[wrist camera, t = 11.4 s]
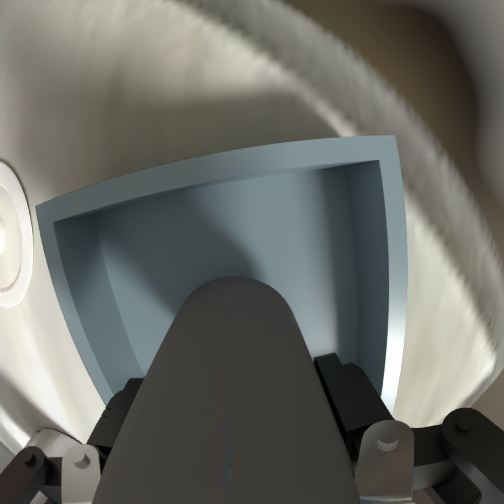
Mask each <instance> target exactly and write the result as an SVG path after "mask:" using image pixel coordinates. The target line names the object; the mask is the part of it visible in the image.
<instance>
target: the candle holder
mask: <svg viewBox="0 0 504 504" xmlns="http://www.w3.org/2000/svg"><path fill="white" fill-rule="evenodd" d="M0 185H1V186H2V187H4V188H5V189H6V190H7V191H8V193H9V194H10V196H11V198H12V199H13V201H14V204H15V206H16V209H17V213H18V217H19V221H20V226H21V233H22V262H21V267H20V271H19V274H18V276H17V278H16V280H15V281H14V283H13V284H12V285H11V286H9V287H7V288H0V306H1V307H5V308H10V307H12V306H14V305H16V304H18V303H20V302H21V300H22V298H23V297H24V295H25V293H26V290H27V288H28V285H29V282H30V278H31V272H32V265H33V236H32V226H31V220H30V214H29V210H28V206H27V202H26V198H25V195H24V193H23V190H22V187H21V185H20V183H19V181H18V179H17V177H16V176H15V174H14V173H13V172H12V170H11V169H10V168H9V167H8V166H7V165H5V164H4V163H2V162H0ZM4 244H5V231H4V225H3V221H2V218H1V216H0V254H1V253H2V251H3V248H4Z"/></svg>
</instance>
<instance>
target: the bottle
mask: <svg viewBox="0 0 504 504" xmlns="http://www.w3.org/2000/svg"><path fill="white" fill-rule="evenodd" d="M354 477H355V472H354V469H353V466H352V463H351V460H350V458H349V455H348V452H347V449H346V446H345V443H344V441H343V438H342V435H341V433H340V430H339V427H338V425H337V422H336V420H335V417H334V414H333V412H332V409H331V406H330V404H329V401H328V399H327V396H326V394H325V391H324V388H323V386H322V383H321V381H320V378H319V375H318V373H317V370H316V368H315V365H314V363H313V360H312V358H311V355H310V353H309V350H308V348H307V345H306V343H305V340H304V337H303V335H302V332H301V330H300V328H299V325H298V323H297V321H296V318H295V316H294V314H293V311H292V310H291V308H290V306H289V305H288V303H287V301H286V300H285V299H284V298H283V297H282V296H281V294H280V293H278V292H277V291H276V290H275V289H274V288H272V287H271V286H269V285H267V284H265V283H263V282H261V281H259V280H256V279H252V278H247V277H241V276H229V277H223V278H217V279H215V280H212V281H209V282H206V283H205V284H203V285H201V286H199V287H198V288H197V289H196V290H194V291H193V292H192V293H191V294H190V295H189V296H188V297H187V298H186V300H185V301H184V303H183V304H182V306H181V308H180V309H179V311H178V312H177V314H176V316H175V318H174V320H173V322H172V324H171V326H170V328H169V330H168V331H167V333H166V335H165V337H164V339H163V341H162V343H161V345H160V347H159V349H158V351H157V353H156V355H155V357H154V359H153V361H152V364H151V366H150V368H149V370H148V372H147V374H146V376H145V378H144V380H143V382H142V384H141V386H140V388H139V391H138V393H137V395H136V397H135V399H134V401H133V403H132V406H131V408H130V410H129V412H128V414H127V416H126V419H125V421H124V423H123V425H122V427H121V430H120V432H119V434H118V436H117V439H116V441H115V443H114V446H113V448H112V450H111V452H110V455H109V457H108V459H107V462H106V464H105V467H104V470H103V472H102V475H101V478H100V481H99V483H98V486H97V489H96V492H95V495H94V498H93V501H92V503H91V504H357V503H360V497H359V493H358V490H357V487H356V484H355V481H354Z"/></svg>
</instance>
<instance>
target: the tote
mask: <svg viewBox="0 0 504 504" xmlns="http://www.w3.org/2000/svg"><path fill="white" fill-rule="evenodd" d="M35 208H36V214H37V220H38V226H39V231H40V236H41V240H42V245H43V249H44V253H45V257H46V261H47V265H48V269H49V273H50V276H51V280H52V283H53V286H54V289H55V293H56V296H57V299H58V302H59V305H60V308H61V310H62V313H63V316H64V319H65V321H66V324H67V327H68V329H69V332H70V334H71V337H72V339H73V341H74V344H75V346H76V348H77V351H78V353H79V355H80V357H81V359H82V362H83V364H84V366H85V368H86V370H87V372H88V374H89V376H90V378H91V380H92V382H93V384H94V386H95V388H96V389H97V391H98V393H99V395H100V397H101V399H102V400H103V402H104V404H105V406H107V404H108V402H109V401H110V399H111V398H112V397H113V396H114V395H115V394H116V393H117V392H119V391H120V390H121V391H123V389H124V387H125V385H126V383H127V381H128V380H129V379H130V378H145V376H146V374H147V372H148V370H149V368H150V366H151V364H152V361H153V359H154V357H155V355H156V353H157V351H158V349H159V347H160V345H161V343H162V341H163V339H164V337H165V335H166V333H167V331H168V330H169V328H170V326H171V324H172V322H173V320H174V318H175V316H176V314H177V312H178V311H179V309H180V308H181V306H182V304H183V303H184V301H185V300H186V298H187V297H188V296H189V295H190V294H191V293H192V292H193V291H194V290H196V289H197V288H198V287H199V286H201V285H203V284H205V283H206V282H209V281H212V280H215V279H217V278H223V277H229V276H241V277H247V278H252V279H256V280H259V281H261V282H263V283H265V284H267V285H269V286H271V287H272V288H274V289H275V290H276V291H277V292H278V293H280V294H281V296H282V297H283V298H284V299H285V300H286V301H287V303H288V305H289V306H290V308H291V310H292V311H293V314H294V316H295V318H296V321H297V323H298V325H299V328H300V330H301V332H302V335H303V337H304V340H305V343H306V345H307V348H308V350H309V353H310V355H311V358H312V360H313V363H314V357H317V356H322V355H326V354H330V353H336V355H337V356H338V358H339V360H340V362H341V364H342V365H344V364H348V363H354V364H355V365H357V366H359V367H360V368H362V369H363V370H364V372H365V373H366V375H367V376H368V378H369V381H371V383H372V384H373V386H374V389H376V391H377V392H378V394H379V396H380V397H381V399H382V400H383V402H384V404H385V405H386V407H387V409H388V410H389V412H390V413H391V415H392V413H393V408H394V403H395V398H396V393H397V388H398V382H399V376H400V369H401V362H402V354H403V346H404V336H405V324H406V310H407V284H408V254H407V229H406V214H405V202H404V192H403V184H402V176H401V169H400V162H399V156H398V150H397V144H396V139H395V135H383V136H354V137H337V138H324V139H312V140H302V141H293V142H284V143H276V144H269V145H262V146H255V147H249V148H242V149H236V150H230V151H225V152H219V153H214V154H209V155H204V156H199V157H194V158H190V159H185V160H181V161H176V162H172V163H168V164H164V165H160V166H156V167H152V168H148V169H144V170H140V171H137V172H133V173H130V174H126V175H123V176H119V177H116V178H113V179H109V180H106V181H103V182H100V183H97V184H94V185H91V186H88V187H85V188H82V189H79V190H76V191H73V192H70V193H68V194H65V195H62V196H59V197H57V198H54V199H52V200H49V201H46V202H44V203H41V204H39V205H36V206H35Z"/></svg>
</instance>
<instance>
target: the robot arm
mask: <svg viewBox="0 0 504 504" xmlns="http://www.w3.org/2000/svg"><path fill="white" fill-rule="evenodd" d="M314 365H315V368H316V370H317V373H318V375H319V378H320V381H321V383H322V386H323V388H324V391H325V394H326V396H327V399H328V401H329V404H330V406H331V409H332V412H333V414H334V417H335V420H336V422H337V425H338V427H339V430H340V433H341V435H342V438H343V441H344V443H345V446H346V449H347V452H348V455H349V458H350V460H351V463H352V466H353V469H354V472H355V477H354V481H355V484H356V487H357V490H358V493H359V497H360V503H357V504H415V502H414V501H412V490H415V489H420V488H423V490H424V491H425V492H426V493H427V494H428V496H429V497H430V498H431V499H432V501H433V502H434V503H435V504H504V431H503V430H501V429H500V428H499V427H497V426H496V425H495V424H494V423H493V422H492V421H490V420H489V419H488V418H487V417H485V416H484V415H483V414H481V413H480V412H479V411H477V410H475V409H472V408H459V409H456V410H454V411H452V412H450V413H449V414H448V415H447V416H446V417H445V419H444V421H443V423H442V424H440V425H434V426H429V427H423V428H410V427H409V426H408V425H407V424H405V423H403V422H401V421H397V420H395V419H394V418H393V417H392V415H391V413H390V412H389V410H388V409H387V407H386V405H385V404H384V402H383V400H382V399H381V397H380V396H379V394H378V392H377V391H376V389H374V386H373V384H372V383H371V381H369V378H368V376H367V375H366V373H365V372H364V370H363V369H362V368H360V367H359V366H357V365H355V364H354V363H348V364H344V365H342V364H341V362H340V360H339V358H338V356H337V355H336V353H330V354H326V355H322V356H317V357H314ZM143 380H144V378H130V379H129V380H128V381H127V383H126V385H125V387H124V389H123V391H121V390H120V391H119V392H117V393H116V394H115V395H114V396H113V397H112V398H111V399H110V401H109V402H108V404H107V406H106V410H104V411H103V413H102V415H101V416H102V417H100V419H99V421H98V422H97V424H96V426H95V428H94V430H93V432H92V434H91V436H90V437H89V439H88V441H87V443H86V444H80V443H78V442H77V441H75V440H73V439H72V438H70V437H68V436H66V435H64V434H63V433H60V432H58V431H55V430H52V429H42V430H41V432H40V433H38V432H35V433H34V434H33V436H32V437H31V439H30V440H29V442H28V443H27V444H26V446H25V447H24V449H22V450H21V451H20V452H19V453H18V454H17V455H16V456H15V458H14V459H13V460H12V461H11V463H9V465H8V466H7V467H6V468H5V469H4V471H3V472H2V473H1V474H0V504H91V503H92V501H93V498H94V495H95V492H96V489H97V486H98V483H99V481H100V478H101V475H102V472H103V470H104V467H105V464H106V462H107V459H108V457H109V455H110V452H111V450H112V448H113V446H114V443H115V441H116V439H117V436H118V434H119V432H120V430H121V427H122V425H123V423H124V421H125V419H126V416H127V414H128V412H129V410H130V408H131V406H132V403H133V401H134V399H135V397H136V395H137V393H138V391H139V388H140V386H141V384H142V382H143Z"/></svg>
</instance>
